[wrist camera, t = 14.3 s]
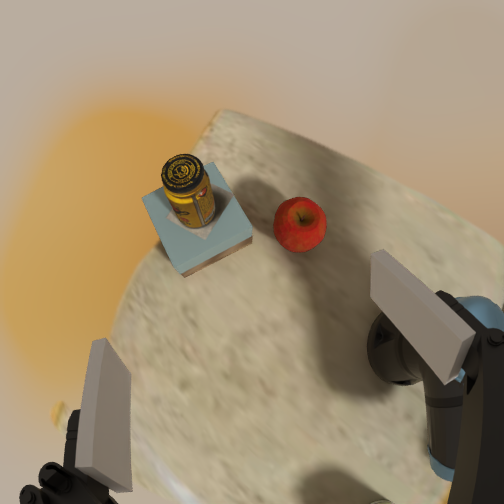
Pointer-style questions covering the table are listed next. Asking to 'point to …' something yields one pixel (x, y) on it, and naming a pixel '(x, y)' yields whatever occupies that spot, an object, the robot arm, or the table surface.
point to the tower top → (188, 244)
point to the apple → (299, 224)
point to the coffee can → (382, 502)
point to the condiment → (193, 195)
